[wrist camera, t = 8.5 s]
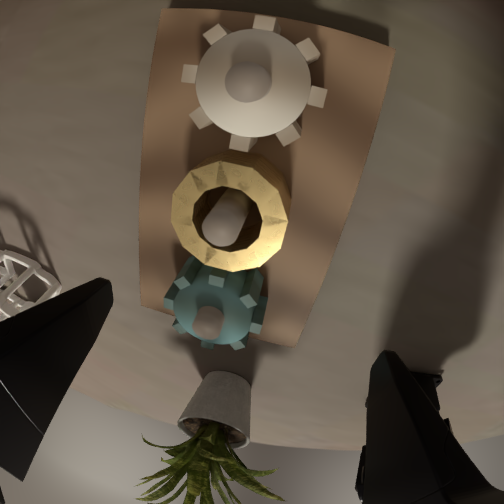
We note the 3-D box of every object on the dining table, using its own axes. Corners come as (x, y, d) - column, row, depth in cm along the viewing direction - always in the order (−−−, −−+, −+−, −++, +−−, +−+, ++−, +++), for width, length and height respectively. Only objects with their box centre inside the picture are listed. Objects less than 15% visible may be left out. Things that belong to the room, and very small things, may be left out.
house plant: (220, 427, 36) (190, 533, 23) (140, 369, 32) (82, 487, 18) (312, 404, 30) (296, 545, 16) (225, 330, 26) (164, 511, 12)
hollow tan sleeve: (276, 254, 20) (271, 281, 17) (186, 231, 20) (168, 254, 17) (301, 163, 16) (299, 179, 14) (197, 141, 17) (176, 152, 14)
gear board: (295, 335, 25) (290, 388, 20) (148, 294, 26) (119, 338, 21) (388, 51, 13) (421, 39, 9) (172, 13, 14) (125, -6, 9)
